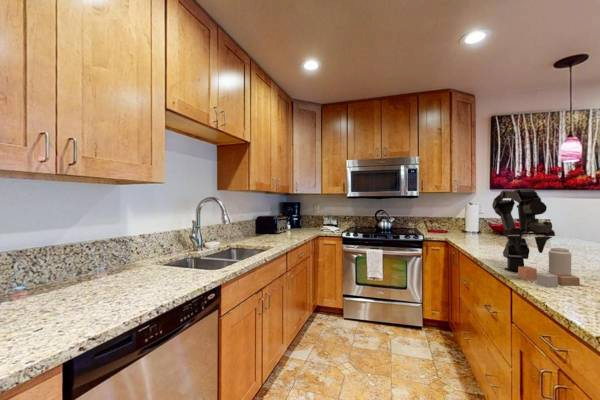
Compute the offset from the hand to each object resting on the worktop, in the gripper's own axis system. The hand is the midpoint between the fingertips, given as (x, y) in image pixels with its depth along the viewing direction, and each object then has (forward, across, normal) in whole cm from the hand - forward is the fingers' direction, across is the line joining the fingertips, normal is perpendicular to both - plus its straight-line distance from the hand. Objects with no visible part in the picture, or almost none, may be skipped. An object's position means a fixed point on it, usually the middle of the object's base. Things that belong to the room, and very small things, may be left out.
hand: (530, 252), depth 121 cm
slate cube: (+13, 0, -8) cm, 15 cm away
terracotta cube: (+11, +1, +3) cm, 12 cm away
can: (+10, +19, +7) cm, 22 cm away
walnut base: (+12, +8, -5) cm, 16 cm away
